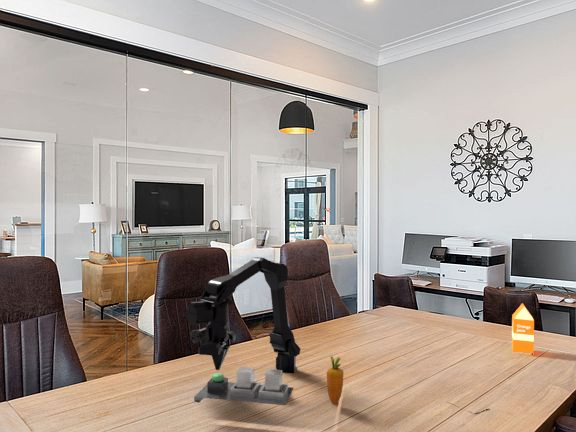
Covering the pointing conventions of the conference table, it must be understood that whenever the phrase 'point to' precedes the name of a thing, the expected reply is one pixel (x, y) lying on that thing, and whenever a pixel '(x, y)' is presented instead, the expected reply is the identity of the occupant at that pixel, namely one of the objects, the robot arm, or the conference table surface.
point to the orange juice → (522, 331)
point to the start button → (217, 377)
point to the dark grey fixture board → (243, 393)
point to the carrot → (335, 381)
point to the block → (273, 380)
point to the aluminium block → (245, 378)
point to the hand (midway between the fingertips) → (217, 369)
